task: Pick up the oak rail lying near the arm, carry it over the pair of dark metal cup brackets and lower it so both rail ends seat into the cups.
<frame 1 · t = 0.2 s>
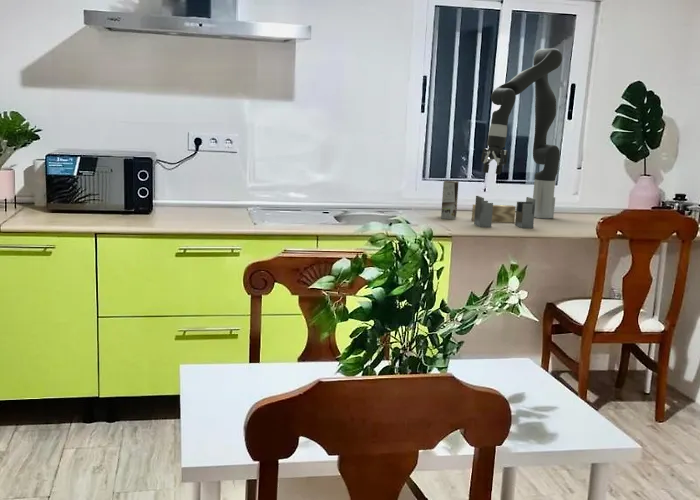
hand: (491, 173, 323), 21 cm above the table, tool pointing down, fingers open, 8 cm apart
coffee box: (448, 218, 333), on the table
bracket a: (523, 226, 316), on the table
rail: (492, 221, 329), on the table
bracket b: (482, 225, 314), on the table
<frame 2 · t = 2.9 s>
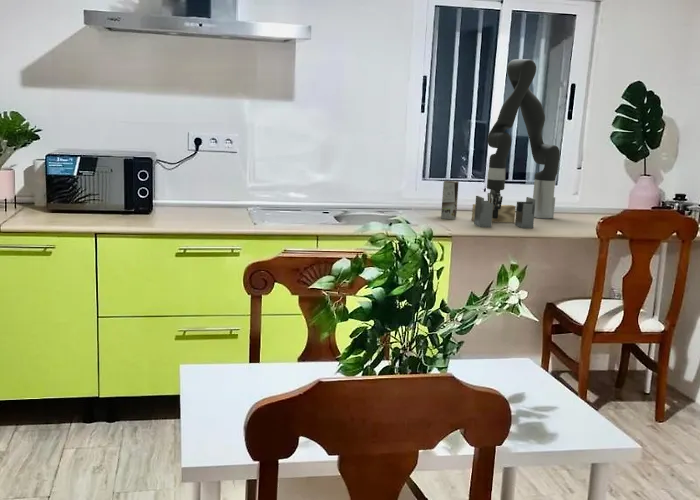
hand: (493, 217, 329), 2 cm above the table, tool pointing down, fingers closed on rail, 4 cm apart
rail: (492, 221, 329), on the table, touching gripper
everything else where it was.
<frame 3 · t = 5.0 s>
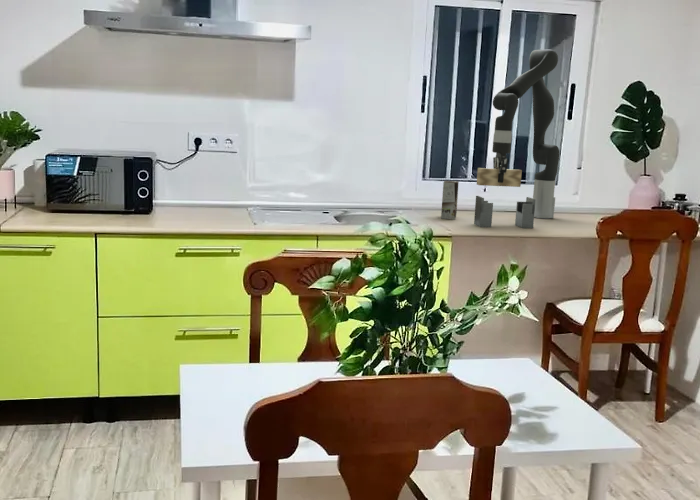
hand: (498, 181, 320), 18 cm above the table, tool pointing down, fingers closed on rail, 4 cm apart
rail: (498, 185, 321), point 16 cm above the table, touching gripper
everything else where it was.
when the fingers open (9 cm above the table, at t = 7.0 s): rail drops 2 cm, resting on bracket a, bracket b.
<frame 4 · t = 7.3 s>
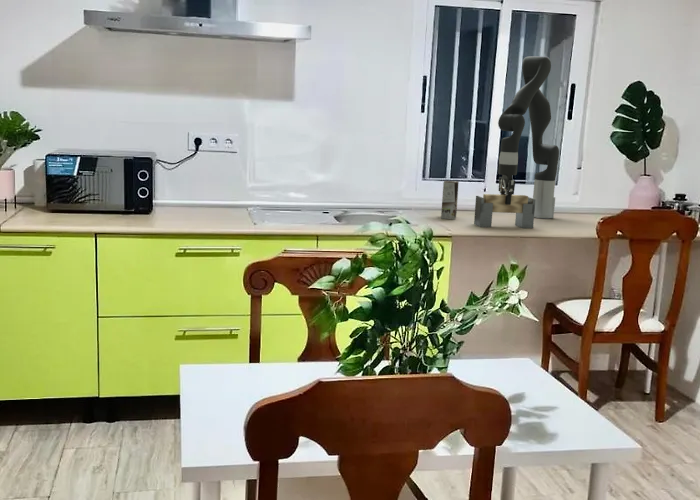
hand: (505, 203, 314), 10 cm above the table, tool pointing down, fingers open, 6 cm apart
rail: (504, 211, 314), point 6 cm above the table, touching bracket a, bracket b
everything else where it was.
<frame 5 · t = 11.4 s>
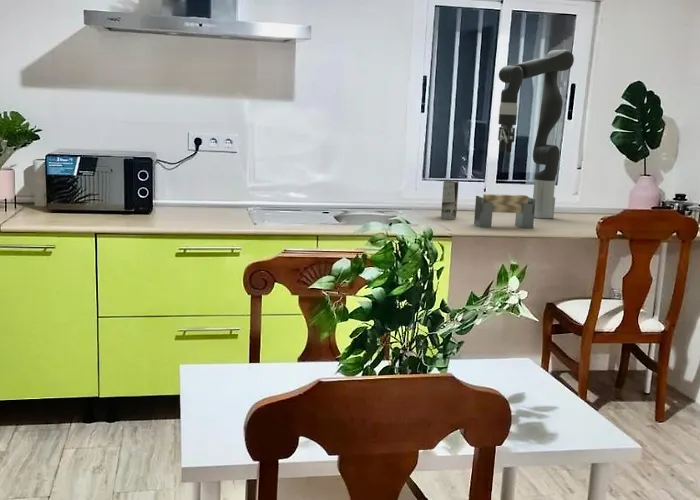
hand: (505, 151, 327), 30 cm above the table, tool pointing down, fingers open, 8 cm apart
nothing on the table moved.
at the end: rail 0.0 cm from the target spot, point 6.0 cm above the table; rail tilted 0°; the gripper is holding nothing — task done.
